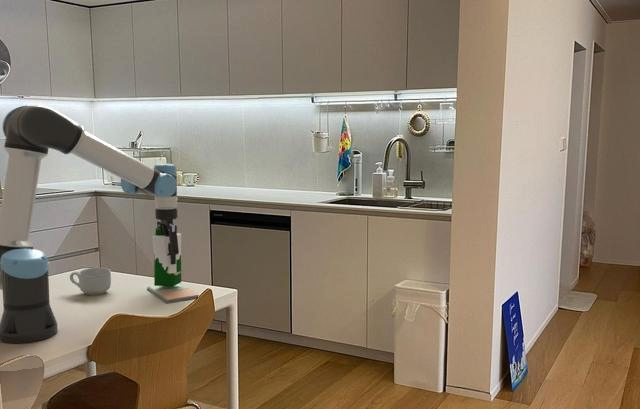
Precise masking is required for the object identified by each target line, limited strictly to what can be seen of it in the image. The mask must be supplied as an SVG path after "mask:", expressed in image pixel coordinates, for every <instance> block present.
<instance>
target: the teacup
mask: <svg viewBox="0 0 640 409" xmlns="http://www.w3.org/2000/svg"><path fill="white" fill-rule="evenodd" d="M111 272H112V271H111V269H109V268H107V267H90V268H84V269H82V270H80V271H79V272H78V271H73V272H71V273H70V275H69V280H70V282H71V283H72V284H74V285H75V286H77V287H78V288H79V290H80V291H81V292H82V293H83V294H85V295H87V296H99V295H104V294H105V293H106V292H107V291H108V290H110V288H111V285H112V274H111ZM74 275H75V276H77V279H78V281H77V280H75V279H74Z"/></svg>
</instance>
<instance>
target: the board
mask: <svg viewBox="0 0 640 409" xmlns="http://www.w3.org/2000/svg"><path fill="white" fill-rule="evenodd" d="M146 289H147V291H148V292H150V293H151V294H153V295H154V296H155V297H157V298H158V299H160V300H161V301H162V302H164V303H165V304H169V303H176V302H177V303H178V302H182V301H183V302H184V301H190V300H196V299H198V298H197V297H198V296H199V295H200V294H199V293H197V292H195V291H194V290H191V289H190V288H189V287H188V286H185V285H184V284H181V283H179V284H177V285H175V286H174V287H167V286H154V285H151V286H148V287H147V288H146ZM195 298H196V299H195Z"/></svg>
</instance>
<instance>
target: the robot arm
mask: <svg viewBox="0 0 640 409" xmlns="http://www.w3.org/2000/svg"><path fill="white" fill-rule="evenodd" d="M2 133H3V134H4V136H5V140H4V150H5V151H6V152H7V154H8V159H7V166H6V172H5V180H4V184H3V185H4V186H3V192H2V199H1V205H0V290H1V291H2V302H3V303H2V304H3V311H2V314H1V318H0V342H3V343H5V344H25V343H27V344H28V343H33V342H38V341H42V340H45V339H48V338H50V337H53V336H55V335H56V334H57V333H58V330H59V328H58V321H57V319H56V316H55V315H54V312H53V310H52V307H51V304H50V287H49V286H50V282H49V280H50V279H49V277H50V276H49V262H48V257H47V256H48V255H46V253H44V252H43V250H42V251H41V250H38V249H34V245H33V243H32V242H31V240H30V234H31V227H32V221H33V215H34V207H35V201H36V195H37V187H38V182H39V176H40V170H41V163H42V162H41V161H42V160H43V159H44V158H46V157H47V156H48V155H49V154H48V153H49V149H51V150H55V151H58V152H60V153H62V154H64V155H70V154H72V155H74V156H76V157H77V158H80V159H82V160H84V161H85V162H88V163H90V164H92V165H94V166H96V167H98V168H99V169H102V170H104V171H106V172H107V173H110V174H112V175H114V176H116V177H118V178H120V187H121V189H122V191H123V193H125V194H128V195H129V194H131V195H135V194H143V195H149V196H154V207H155V213H154V214H155V220H157V221H156V227H157V228H160V229H163V231H164V236H166V237H169V239H170V244H169V243H168V251H169V253H168V254H167V256H168V273H169V274H171V273H177V270H176V255H177V254H179V249H178V239H177V232H178V226H177V225H174V222H173V221H174V220H177V218H178V208H177V207H178V201H179V198H178V184H177V183H178V182H177V181H178V174H177V167H176V165H175V164H173V163H156V164H154V166H153V167H152V166H150V165H148V164H147V163H145V162H143V161H141V160H139V159H138V158H135V157H133V156H132V155H129V154H128V153H126V152H125V151H122V150H121V149H119V148H117V147H115V146H113V145H112V144H110V143H108V142H106V141H104V140H102V139H100V138H99V137H98V136H95V135H93V134H91V133H90V132H88V131H86V130H85V129H84V126H83V125H82V124H80V123H78V122H76V121H75V120H73V119H72V118H70V117H68V116H67V115H65V114H63V113H61V112H60V111H58V110H56V109H54V108H52V107H49V106H46V105H21V106H19V107H15V108H13V109H11V110H10V111H9V112H8V113H6V115H5V116H4V118H3V121H2Z"/></svg>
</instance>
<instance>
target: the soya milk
mask: <svg viewBox="0 0 640 409" xmlns="http://www.w3.org/2000/svg"><path fill="white" fill-rule="evenodd" d="M151 239H152V246H153V268H154V272H153V274H154V275H153V277H154V278H153V279H154V284H153V286H167V287H174V286H175V285H177V284H179V283H180V284H181V283H182V233H179V232H178V233H177V239H178V249H179V254H177V255H176V270H177V273H171V274H169V273H168V256H167V254H168V253H169V251H168V243H169V244H170V239H169V237H166V236H164V231H163V229H160V228H155V234H153V235H152V236H151Z"/></svg>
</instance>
